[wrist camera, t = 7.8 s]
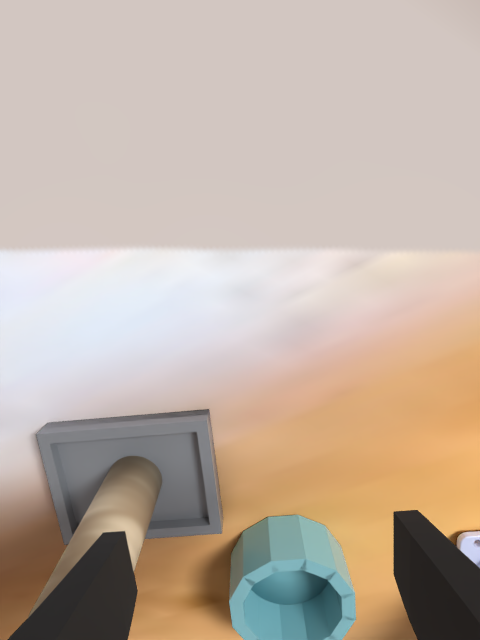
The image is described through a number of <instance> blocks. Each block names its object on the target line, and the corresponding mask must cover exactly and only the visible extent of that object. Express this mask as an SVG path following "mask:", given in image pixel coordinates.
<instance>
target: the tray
mask: <svg viewBox="0 0 480 640" xmlns="http://www.w3.org/2000/svg"><path fill="white" fill-rule="evenodd" d="M36 436H37V440H38V444H39V448H40V452H41V456H42V460H43V464H44V468H45V471H46V475H47V479H48V483H49V487H50V491H51V495H52V499H53V503H54V507H55V510H56V514H57V518H58V522H59V526H60V530H61V534H62V538H63V542H64V545H67V544H69V542H70V540H71V538H72V537H73V535H74V533H75V531H76V529H77V528H78V526H79V524H80V522H81V520H82V519H83V517H84V515H85V513H86V511H87V510H88V508H89V506H90V504H91V502H92V501H93V499H94V497H95V495H96V493H97V492H98V490H99V488H100V486H101V485H102V483H103V481H104V479H105V477H106V476H107V474H108V472H109V470H110V468H111V467H112V465H113V464H114V463H115V462H116V461H117V460H119V459H121V458H123V457H126V456H140V457H144V458H146V459H148V460H150V461H151V462H153V463H154V464H155V465H156V466H157V467H158V469H159V471H160V473H161V476H162V486H161V489H160V493H159V496H158V499H157V502H156V505H155V508H154V511H153V514H152V517H151V520H150V524H149V527H148V530H147V533H146V536H145V539H151V538H165V537H180V536H194V535H208V534H222V527H223V512H222V504H221V496H220V489H219V481H218V473H217V466H216V458H215V450H214V443H213V435H212V427H211V420H210V412H209V409H207V410H195V411H183V412H171V413H159V414H147V415H135V416H123V417H111V418H99V419H87V420H75V421H63V422H51V423H47V424H46V425H45V426H44V427H43V428H42V429H41V430H40V431H39V432H38V433H37V434H36Z"/></svg>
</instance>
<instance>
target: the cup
mask: <svg viewBox="0 0 480 640" xmlns="http://www.w3.org/2000/svg"><path fill="white" fill-rule="evenodd" d="M229 604H230V612H231V619H232V627H233V628H234V629H235V630H236V631H237V633H238V634H239V635H240V636H241V637H242V638H243V639H244V640H342V639H343V637H344V636H345V635H346V633H347V632H348V630H349V629H350V627H351V626H352V624H353V623H354V621H355V620H356V611H355V592H354V589H353V585H352V582H351V578H350V575H349V572H348V568H347V565H346V562H345V558H344V555H343V552H342V548H341V545H340V544H339V543H338V542H337V540H336V539H335V538H334V537H333V535H332V534H331V533H330V531H329V530H328V529H327V528H326V526H325V525H322V524H320V523H317V522H315V521H312V520H310V519H307V518H305V517H302V516H300V515H288V516H274V517H267V518H265V519H263V520H262V521H260V522H258V523H257V524H255V525H253V526H252V527H250V528H248V529H246V530H245V531H243V533H242V535H241V536H240V538H239V540H238V542H237V544H236V546H235V547H234V549H233V551H232V553H231V570H230V592H229Z"/></svg>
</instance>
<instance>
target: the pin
mask: <svg viewBox="0 0 480 640" xmlns="http://www.w3.org/2000/svg"><path fill="white" fill-rule="evenodd" d="M161 486H162V476H161V473H160V471H159V469H158V467H157V466H156V465H155V464H154V463H153V462H151V461H150V460H148V459H146V458H144V457H140V456H126V457H123V458H121V459H119V460H117V461H116V462H115V463H114V464H113V465H112V467H111V468H110V470H109V472H108V474H107V476H106V477H105V479H104V481H103V483H102V485H101V486H100V488H99V490H98V492H97V493H96V495H95V497H94V499H93V501H92V502H91V504H90V506H89V508H88V510H87V511H86V513H85V515H84V517H83V519H82V520H81V522H80V524H79V526H78V528H77V529H76V531H75V533H74V535H73V537H72V538H71V540H70V542H69V544H68V546H67V547H66V549H65V551H64V553H63V555H62V556H61V558H60V560H59V562H58V564H57V565H56V567H55V569H54V571H53V573H52V574H51V576H50V578H49V580H48V582H47V583H46V585H45V587H44V589H43V591H42V592H41V594H40V596H39V598H38V600H37V601H36V603H35V605H34V607H33V609H32V610H31V612H30V614H29V616H30V615H31V614H32V613H33V612H34V611H35V610H36V609H37V608H38V607H39V605H40V604H41V603H42V602H43V601H44V600H45V599H46V598H47V596H48V595H49V594H50V593H51V592H52V591H53V590H54V589H55V587H56V586H57V585H58V584H59V583H60V582H61V581H62V579H63V578H64V577H65V576H66V575H67V574H68V573H69V571H70V570H71V569H72V568H73V567H74V566H75V564H76V563H77V562H78V561H79V560H80V559H81V557H82V556H83V555H84V554H85V553H86V552H87V550H88V549H89V548H90V547H91V546H92V545H93V543H94V542H95V541H96V540H97V539H98V538H99V537H100V536H101V534H102V533H103V532H117V531H125V533H126V538H127V543H128V547H129V552H130V557H131V562H132V567H133V571H134V570H135V567H136V564H137V561H138V558H139V555H140V552H141V548H142V545H143V542H144V539H145V536H146V533H147V530H148V527H149V524H150V520H151V517H152V514H153V511H154V508H155V505H156V502H157V499H158V496H159V493H160V489H161ZM28 618H29V617H28Z"/></svg>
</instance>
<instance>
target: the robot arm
mask: <svg viewBox="0 0 480 640" xmlns="http://www.w3.org/2000/svg"><path fill="white" fill-rule="evenodd" d="M476 540H477V541H476ZM474 541H475V542H474ZM394 577H395V580H396V583H397V586H398V589H399V592H400V595H401V598H402V601H403V604H404V606H405V609H406V612H407V615H408V618H409V620H410V623H411V625H412V627H413V630H414V632H415V634H416V636H417V639H418V640H480V531H475V532H464V533H461V534H460V535H459V536H458V538H457V547H456V546H455V545H454V544H453V543H452V542H451V541H450V540H449V539H448V538H447V537H446V536H444V535H443V534H442V533H441V532H440V531H439V530H438V529H437V528H436V527H435V526H434V525H433V524H432V523H431V522H430V521H429V520H428V519H427V518H425V517H424V516H423V515H422V514H421V513H420V512H419V511H418V510H410V511H396V512H394ZM136 597H137V586H136V581H135V576H134V571H133V567H132V562H131V557H130V552H129V547H128V543H127V538H126V533H125V531H117V532H103V533H102V534H101V536H100V537H99V538H98V539H97V540H96V541H95V542H94V543H93V545H92V546H91V547H90V548H89V549H88V550H87V552H86V553H85V554H84V555H83V556H82V557H81V559H80V560H79V561H78V562H77V563H76V564H75V566H74V567H73V568H72V569H71V570H70V571H69V573H68V574H67V575H66V576H65V577H64V578H63V579H62V581H61V582H60V583H59V584H58V585H57V586H56V587H55V589H54V590H53V591H52V592H51V593H50V594H49V595H48V596H47V598H46V599H45V600H44V601H43V602H42V603H41V604H40V605H39V607H38V608H37V609H36V610H35V611H34V612H33V613H32V614H31V615H30V616H29V618H28V619H27V620H26V621H25V622H24V623H23V624H22V625H21V626H20V627H19V628H18V629H17V630H16V631H15V632H14V633H13V634H12V635H11V637H10V638H9V639H8V640H128V636H129V631H130V626H131V622H132V617H133V612H134V607H135V602H136Z"/></svg>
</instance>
